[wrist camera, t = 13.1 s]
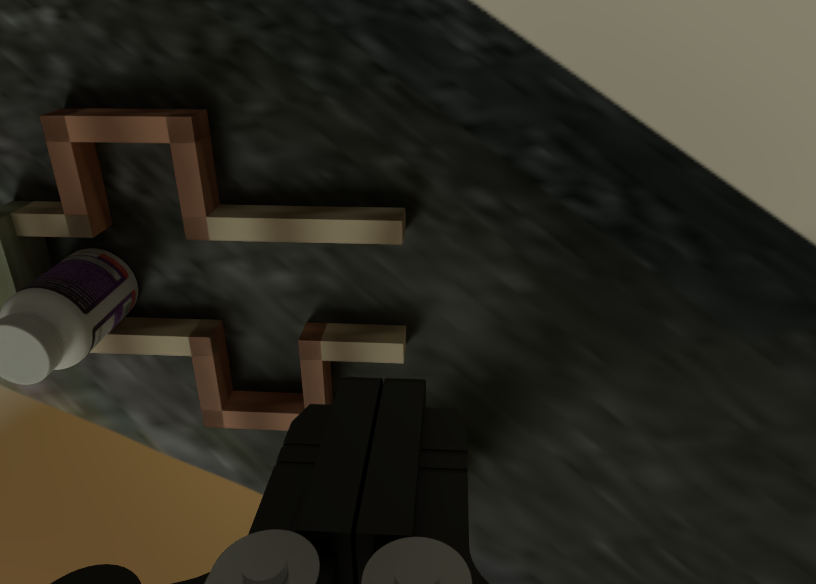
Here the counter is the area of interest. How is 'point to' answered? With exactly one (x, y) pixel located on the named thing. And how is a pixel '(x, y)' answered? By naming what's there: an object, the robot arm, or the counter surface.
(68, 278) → the pill bottle
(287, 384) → the counter surface
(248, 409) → the trap channel
